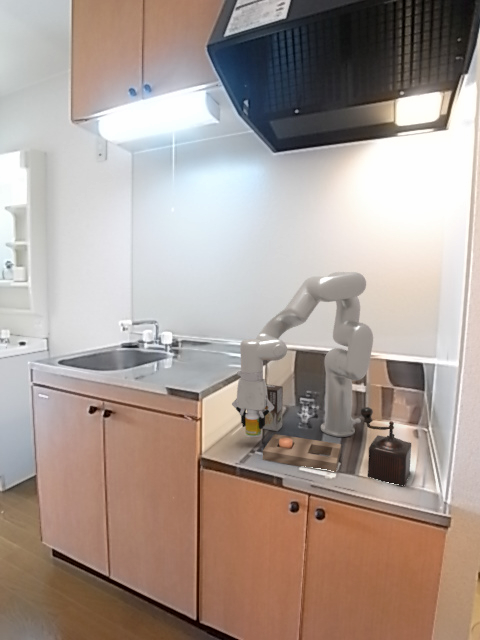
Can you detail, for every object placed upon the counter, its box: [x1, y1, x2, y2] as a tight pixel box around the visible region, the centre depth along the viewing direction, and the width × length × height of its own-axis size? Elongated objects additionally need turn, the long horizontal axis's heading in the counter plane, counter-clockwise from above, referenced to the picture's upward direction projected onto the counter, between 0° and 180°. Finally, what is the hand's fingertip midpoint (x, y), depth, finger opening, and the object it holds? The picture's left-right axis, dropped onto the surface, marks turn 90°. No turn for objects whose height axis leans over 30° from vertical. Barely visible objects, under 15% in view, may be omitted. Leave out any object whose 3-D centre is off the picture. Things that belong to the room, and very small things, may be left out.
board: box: [262, 433, 342, 473], centre depth 125 cm, size 23×14×3 cm, turn 70°
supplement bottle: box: [244, 409, 262, 438], centre depth 132 cm, size 5×5×10 cm
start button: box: [279, 438, 293, 449], centre depth 127 cm, size 4×4×3 cm
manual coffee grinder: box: [360, 406, 412, 487], centre depth 115 cm, size 16×11×18 cm
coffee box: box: [262, 383, 284, 432], centre depth 149 cm, size 9×6×16 cm
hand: (253, 425), depth 133 cm, fingers closed on supplement bottle, 5 cm apart
